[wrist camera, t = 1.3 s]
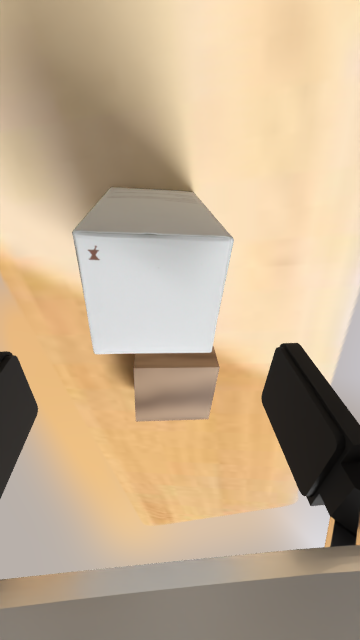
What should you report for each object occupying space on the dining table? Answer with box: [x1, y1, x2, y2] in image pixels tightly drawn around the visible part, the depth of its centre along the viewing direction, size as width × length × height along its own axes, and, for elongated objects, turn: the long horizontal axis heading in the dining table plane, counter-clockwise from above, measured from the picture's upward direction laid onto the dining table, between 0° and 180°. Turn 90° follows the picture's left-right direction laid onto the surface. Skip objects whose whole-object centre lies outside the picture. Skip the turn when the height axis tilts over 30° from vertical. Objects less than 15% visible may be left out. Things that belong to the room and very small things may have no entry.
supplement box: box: [72, 187, 234, 354], centre depth 19 cm, size 7×7×13 cm
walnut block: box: [134, 347, 219, 421], centre depth 32 cm, size 9×9×5 cm
